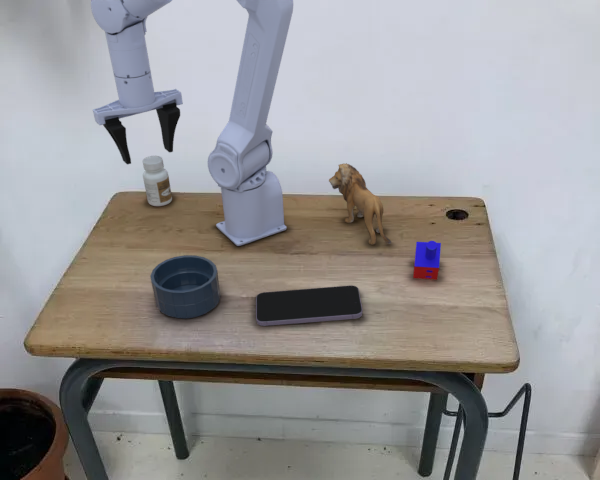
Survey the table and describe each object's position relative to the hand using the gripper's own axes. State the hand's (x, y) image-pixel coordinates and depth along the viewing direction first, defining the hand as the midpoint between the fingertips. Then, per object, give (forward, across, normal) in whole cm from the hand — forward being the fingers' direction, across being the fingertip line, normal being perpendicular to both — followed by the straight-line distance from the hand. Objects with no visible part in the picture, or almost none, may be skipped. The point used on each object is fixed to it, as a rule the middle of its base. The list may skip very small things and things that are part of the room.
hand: (148, 156), depth 117 cm
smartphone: (+9, -5, +42) cm, 43 cm away
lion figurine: (+9, -25, +27) cm, 38 cm away
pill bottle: (+9, -1, -1) cm, 9 cm away
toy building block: (+9, -25, +44) cm, 52 cm away
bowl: (+9, +8, +30) cm, 33 cm away
